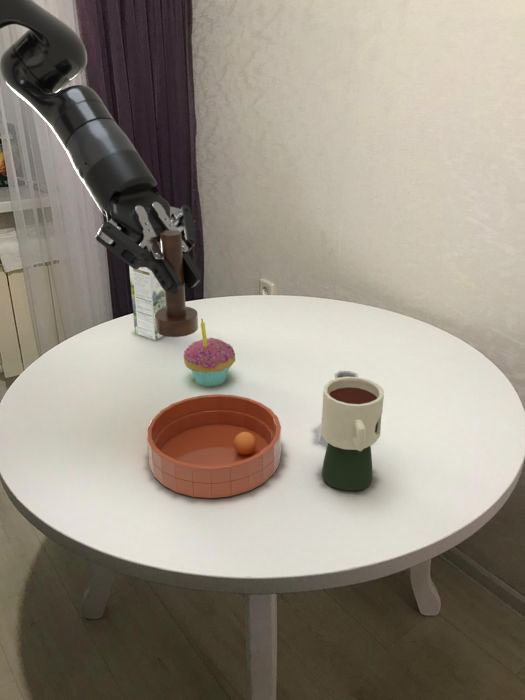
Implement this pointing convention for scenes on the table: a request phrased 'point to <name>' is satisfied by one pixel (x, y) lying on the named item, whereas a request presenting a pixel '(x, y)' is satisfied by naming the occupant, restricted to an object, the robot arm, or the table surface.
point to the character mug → (350, 430)
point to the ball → (245, 443)
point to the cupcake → (209, 359)
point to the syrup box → (146, 301)
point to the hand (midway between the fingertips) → (186, 286)
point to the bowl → (213, 445)
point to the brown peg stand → (176, 314)
